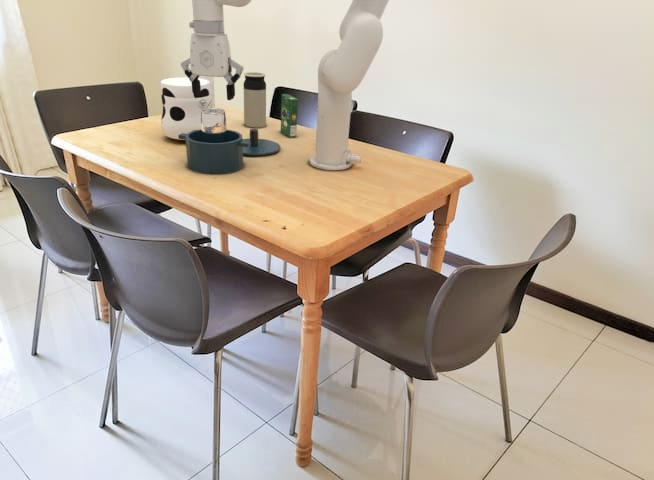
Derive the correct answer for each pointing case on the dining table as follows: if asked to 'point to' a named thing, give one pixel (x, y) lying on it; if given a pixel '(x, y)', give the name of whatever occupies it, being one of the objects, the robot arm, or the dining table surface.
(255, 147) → the lid
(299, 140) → the dining table surface
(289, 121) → the coffee box
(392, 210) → the dining table surface
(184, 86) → the milk container
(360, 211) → the dining table surface
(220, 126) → the beer glass
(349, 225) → the dining table surface
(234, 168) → the pot
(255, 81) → the travel mug
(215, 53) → the robot arm
